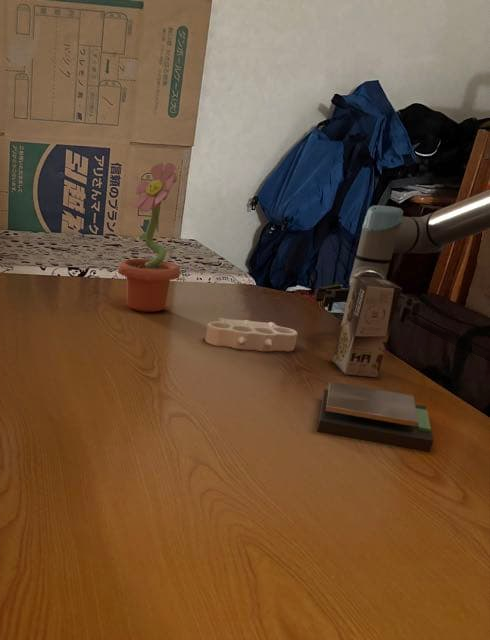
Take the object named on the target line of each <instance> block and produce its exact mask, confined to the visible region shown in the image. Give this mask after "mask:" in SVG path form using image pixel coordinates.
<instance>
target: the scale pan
mask: <svg viewBox="0 0 490 640" xmlns="http://www.w3.org/2000/svg"><path fill="white" fill-rule="evenodd" d="M327 390H328V396H327V403H326V411H329V412H334V413H340V414H346V415H352V416H357V417H363V418H369V419H374V420H380V421H386V422H392V423H397V424H403V425H409V426H414V427H417V424H418V418H417V413H416V407H415V405H416V402H415V397H414V395H413V394H408V393H402V392H395V391H391V390H390V391H389V390H383V389H377V388H371V387H367V386H366V387H365V386H359V385H355V384H354V385H353V384H347V383H341V382H335V381H329V383H328V389H327Z"/></svg>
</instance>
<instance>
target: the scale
mask: <svg viewBox="0 0 490 640" xmlns="http://www.w3.org/2000/svg"><path fill="white" fill-rule="evenodd" d="M327 396H328V389H324V390H323V394H322V399H321V404H320V411H319V417H318V423H317V429H316V432H318V433H322V434H327V435H333V436H340V437H345V438H350V439H356V440H361V441H367V442H372V443H378V444H384V445H389V446H394V447H399V448H400V447H401V448H406V449H411V450H417V451H421V452H427V453H430V452H431V449H432V446H433V443H434V438H433V433H432V426H431V423H430V417H429V413H428V409H427V406H426V405H420V404H415V407H416V413H417V418H418V424H417V427H414V426H409V425H403V424H397V423H392V422H386V421H380V420H374V419H369V418H363V417H357V416H352V415H346V414H340V413H334V412H329V411H326V403H327Z"/></svg>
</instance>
